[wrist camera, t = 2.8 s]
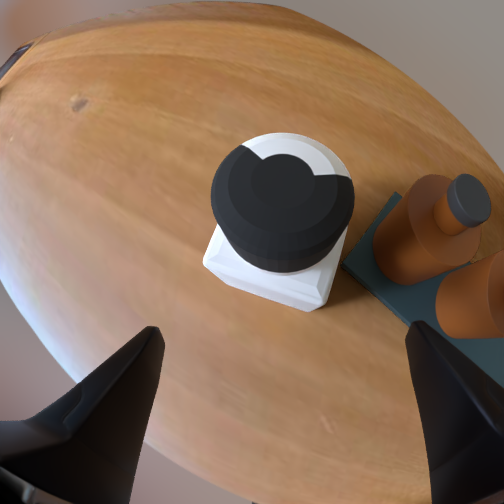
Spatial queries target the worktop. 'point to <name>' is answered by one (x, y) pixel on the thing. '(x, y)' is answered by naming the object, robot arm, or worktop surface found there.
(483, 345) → the tray
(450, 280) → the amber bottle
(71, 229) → the worktop surface
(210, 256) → the medicine bottle
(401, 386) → the worktop surface
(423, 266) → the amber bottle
